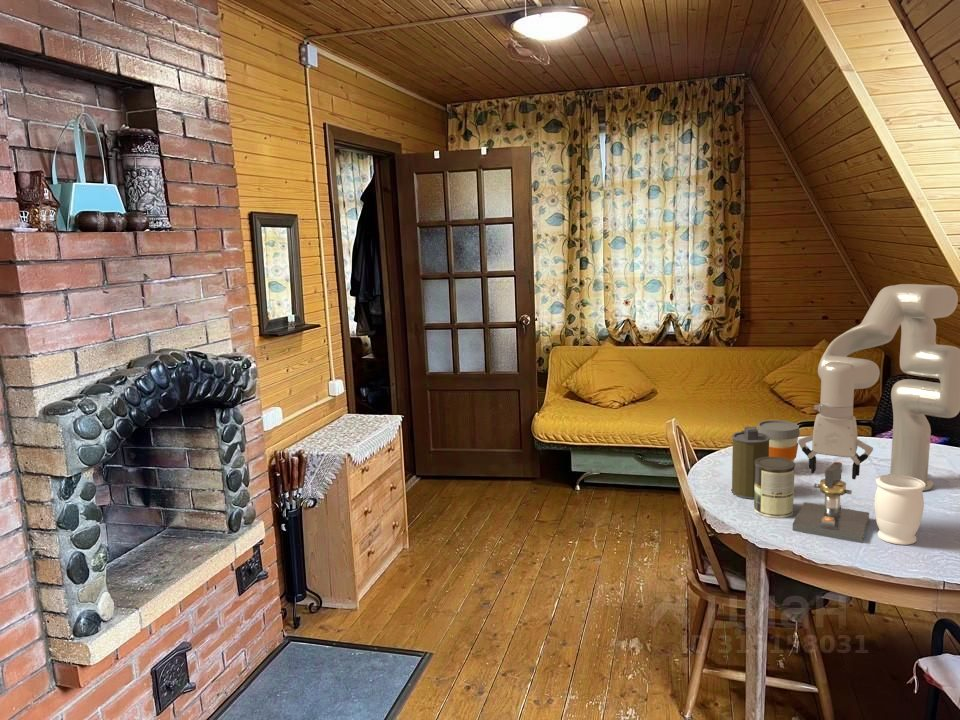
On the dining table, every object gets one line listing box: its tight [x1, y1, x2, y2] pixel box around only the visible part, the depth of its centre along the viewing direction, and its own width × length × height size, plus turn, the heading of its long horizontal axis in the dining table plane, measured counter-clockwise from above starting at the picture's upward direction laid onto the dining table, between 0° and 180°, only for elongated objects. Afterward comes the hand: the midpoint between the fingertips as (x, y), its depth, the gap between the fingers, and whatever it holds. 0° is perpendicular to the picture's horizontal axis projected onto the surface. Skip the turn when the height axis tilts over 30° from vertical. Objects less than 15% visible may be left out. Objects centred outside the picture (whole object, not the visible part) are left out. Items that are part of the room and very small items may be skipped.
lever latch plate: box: [792, 494, 870, 544], centre depth 188 cm, size 16×16×9 cm
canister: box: [730, 425, 770, 500], centre depth 212 cm, size 11×10×20 cm
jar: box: [873, 474, 925, 546], centre depth 179 cm, size 11×10×15 cm
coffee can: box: [753, 457, 796, 519], centre depth 199 cm, size 10×10×14 cm
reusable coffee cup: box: [756, 419, 800, 463], centre depth 230 cm, size 13×13×15 cm
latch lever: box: [814, 461, 853, 497], centre depth 187 cm, size 9×8×7 cm
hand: (833, 474), depth 187 cm, fingers open, 9 cm apart
